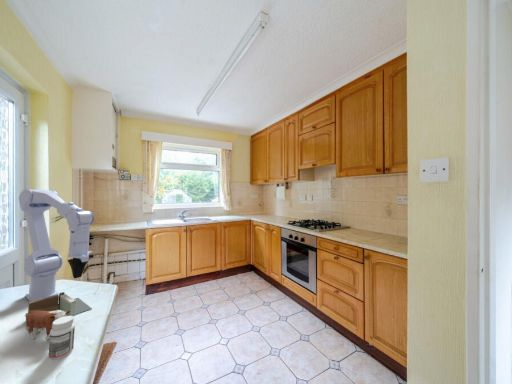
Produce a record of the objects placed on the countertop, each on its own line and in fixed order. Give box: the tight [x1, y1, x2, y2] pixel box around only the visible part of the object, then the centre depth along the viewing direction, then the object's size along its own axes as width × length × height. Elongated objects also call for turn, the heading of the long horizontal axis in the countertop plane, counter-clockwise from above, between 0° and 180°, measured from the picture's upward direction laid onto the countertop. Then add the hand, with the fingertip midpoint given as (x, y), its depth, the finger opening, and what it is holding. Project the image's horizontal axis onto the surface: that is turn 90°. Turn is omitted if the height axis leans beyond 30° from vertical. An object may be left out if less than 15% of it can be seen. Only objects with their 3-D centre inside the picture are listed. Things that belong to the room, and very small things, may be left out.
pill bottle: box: [48, 316, 76, 360], centre depth 53 cm, size 5×5×8 cm
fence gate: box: [60, 293, 76, 317], centre depth 70 cm, size 9×1×5 cm, turn 60°
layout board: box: [25, 297, 92, 316], centre depth 71 cm, size 14×14×1 cm
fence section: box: [27, 291, 66, 314], centre depth 69 cm, size 1×9×6 cm, turn 147°
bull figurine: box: [25, 310, 71, 342], centre depth 58 cm, size 4×13×8 cm, turn 79°
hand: (77, 277), depth 79 cm, fingers closed
